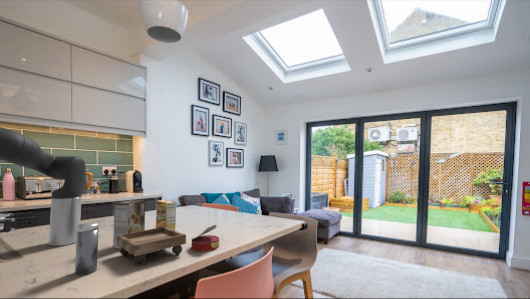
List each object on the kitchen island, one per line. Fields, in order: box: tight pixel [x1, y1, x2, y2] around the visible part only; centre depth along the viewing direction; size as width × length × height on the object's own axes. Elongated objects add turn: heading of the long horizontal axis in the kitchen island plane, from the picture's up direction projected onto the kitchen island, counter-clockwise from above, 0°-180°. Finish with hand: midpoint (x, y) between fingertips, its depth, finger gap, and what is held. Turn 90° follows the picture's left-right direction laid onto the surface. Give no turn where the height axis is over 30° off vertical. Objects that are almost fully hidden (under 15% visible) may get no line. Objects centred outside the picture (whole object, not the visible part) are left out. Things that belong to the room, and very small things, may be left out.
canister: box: [74, 221, 100, 277], centre depth 71 cm, size 5×5×13 cm
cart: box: [117, 227, 187, 266], centre depth 84 cm, size 16×16×6 cm
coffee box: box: [112, 199, 146, 249], centre depth 95 cm, size 9×6×16 cm
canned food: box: [191, 224, 220, 252], centre depth 92 cm, size 11×10×10 cm
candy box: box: [155, 199, 177, 231], centre depth 101 cm, size 9×4×15 cm, turn 50°
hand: (35, 218), depth 63 cm, fingers open, 8 cm apart
